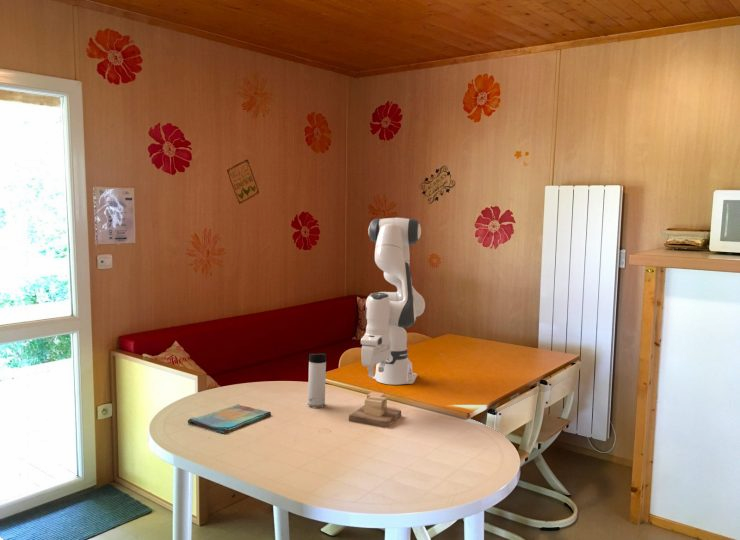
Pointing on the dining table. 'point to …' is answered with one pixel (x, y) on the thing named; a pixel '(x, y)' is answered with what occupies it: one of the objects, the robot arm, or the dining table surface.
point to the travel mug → (316, 380)
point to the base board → (375, 417)
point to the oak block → (375, 406)
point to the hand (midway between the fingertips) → (376, 374)
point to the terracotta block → (376, 394)
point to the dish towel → (229, 418)
